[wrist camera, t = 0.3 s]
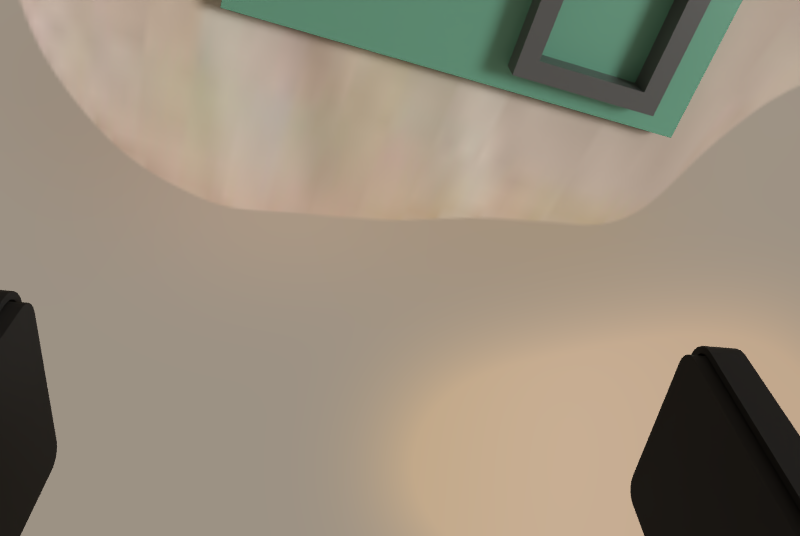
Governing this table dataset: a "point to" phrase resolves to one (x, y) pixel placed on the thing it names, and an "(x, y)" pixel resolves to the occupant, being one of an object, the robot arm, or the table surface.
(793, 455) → the robot arm
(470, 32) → the board
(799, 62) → the table surface
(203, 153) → the table surface
